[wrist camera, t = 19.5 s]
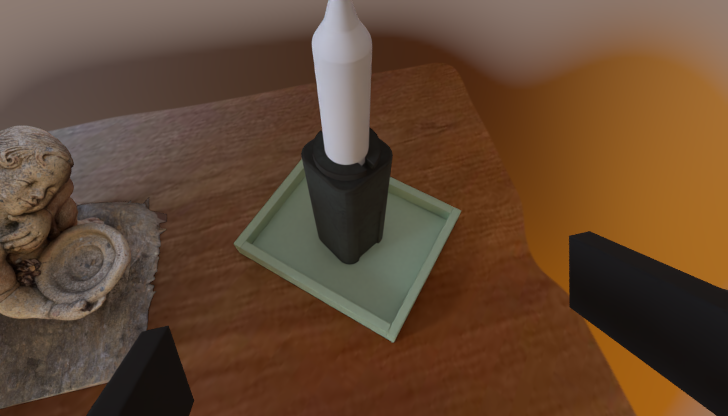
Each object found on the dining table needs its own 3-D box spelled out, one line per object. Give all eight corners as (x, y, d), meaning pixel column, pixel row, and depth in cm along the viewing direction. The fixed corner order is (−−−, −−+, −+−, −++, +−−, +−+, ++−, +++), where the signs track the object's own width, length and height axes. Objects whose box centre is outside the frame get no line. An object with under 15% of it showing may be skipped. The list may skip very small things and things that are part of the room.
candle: (351, 202, 39) (342, -78, 18) (388, 235, 38) (427, -31, 16) (313, 233, 38) (249, -35, 16) (349, 269, 36) (333, 24, 14)
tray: (239, 252, 37) (233, 243, 35) (317, 153, 43) (315, 141, 41) (393, 343, 33) (395, 338, 32) (457, 220, 39) (461, 210, 37)
